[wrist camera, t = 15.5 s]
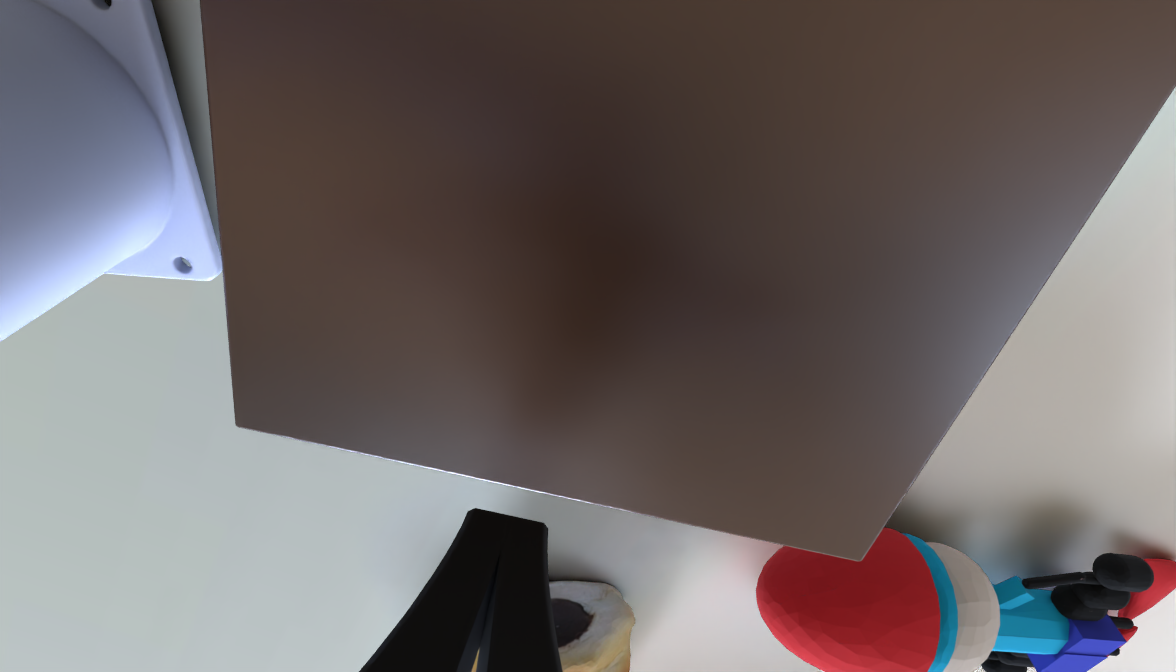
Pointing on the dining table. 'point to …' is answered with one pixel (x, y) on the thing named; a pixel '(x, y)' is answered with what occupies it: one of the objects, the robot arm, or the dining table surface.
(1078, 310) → the dining table surface
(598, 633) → the pastry
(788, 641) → the toy figure
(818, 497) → the cabinet
